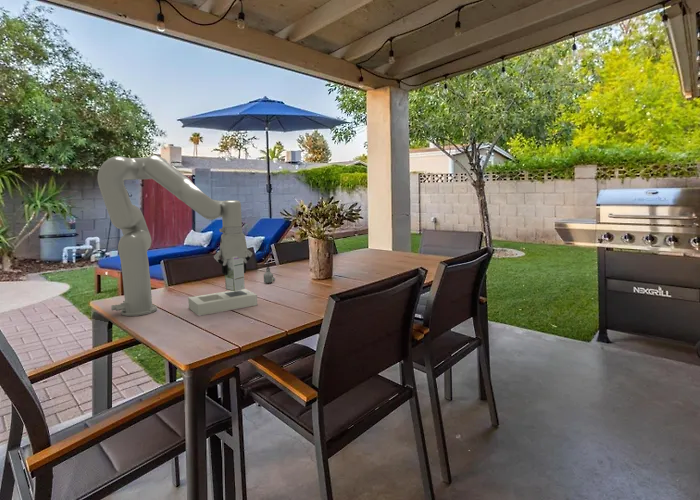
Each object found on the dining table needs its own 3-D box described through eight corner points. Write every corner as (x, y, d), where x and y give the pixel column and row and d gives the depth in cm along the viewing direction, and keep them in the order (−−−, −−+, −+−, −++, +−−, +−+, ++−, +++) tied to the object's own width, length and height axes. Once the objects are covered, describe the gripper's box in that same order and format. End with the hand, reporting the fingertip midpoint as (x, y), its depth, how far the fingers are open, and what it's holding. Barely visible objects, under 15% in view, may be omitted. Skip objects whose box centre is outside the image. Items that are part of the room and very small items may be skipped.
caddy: (198, 316, 158) (197, 304, 157) (188, 308, 168) (188, 296, 168) (257, 305, 172) (256, 294, 171) (245, 298, 182) (244, 288, 182)
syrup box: (245, 288, 173) (244, 254, 171) (234, 291, 168) (232, 256, 166) (235, 286, 176) (234, 253, 174) (224, 289, 171) (223, 255, 169)
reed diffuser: (269, 285, 207) (268, 245, 203) (256, 284, 208) (255, 245, 205) (277, 280, 216) (276, 242, 213) (265, 280, 218) (263, 242, 215)
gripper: (214, 233, 161) (216, 277, 163) (256, 230, 171) (257, 272, 173) (208, 231, 167) (210, 274, 169) (249, 228, 177) (250, 269, 179)
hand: (234, 273), depth 171 cm, fingers closed on syrup box, 7 cm apart
